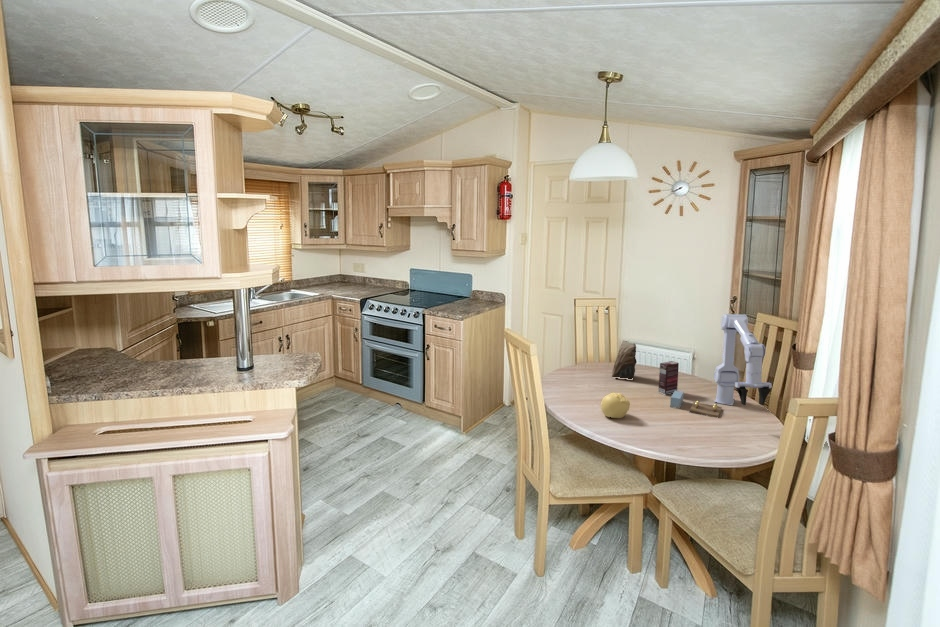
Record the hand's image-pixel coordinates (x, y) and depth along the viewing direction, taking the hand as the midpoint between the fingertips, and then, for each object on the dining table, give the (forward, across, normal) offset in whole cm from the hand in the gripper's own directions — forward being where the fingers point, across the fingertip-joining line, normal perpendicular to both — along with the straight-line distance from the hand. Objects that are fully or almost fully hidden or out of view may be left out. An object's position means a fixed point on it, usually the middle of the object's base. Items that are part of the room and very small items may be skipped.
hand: (752, 404), depth 211 cm
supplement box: (+5, -17, +45) cm, 48 cm away
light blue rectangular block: (+7, -19, +29) cm, 36 cm away
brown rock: (+2, -32, +70) cm, 77 cm away
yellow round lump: (+10, -53, +16) cm, 57 cm away
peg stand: (+8, -10, +20) cm, 24 cm away
